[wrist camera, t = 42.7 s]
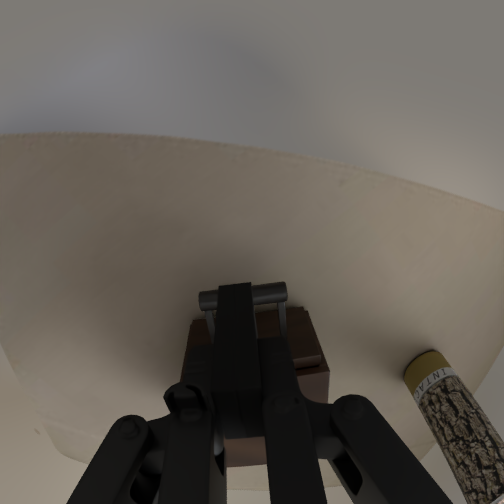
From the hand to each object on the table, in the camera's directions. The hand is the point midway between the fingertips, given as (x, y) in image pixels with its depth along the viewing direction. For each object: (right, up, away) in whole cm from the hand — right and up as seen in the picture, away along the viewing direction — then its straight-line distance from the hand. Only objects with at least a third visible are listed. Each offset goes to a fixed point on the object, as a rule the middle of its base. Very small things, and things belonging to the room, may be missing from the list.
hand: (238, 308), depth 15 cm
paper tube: (+25, -14, +23) cm, 37 cm away
